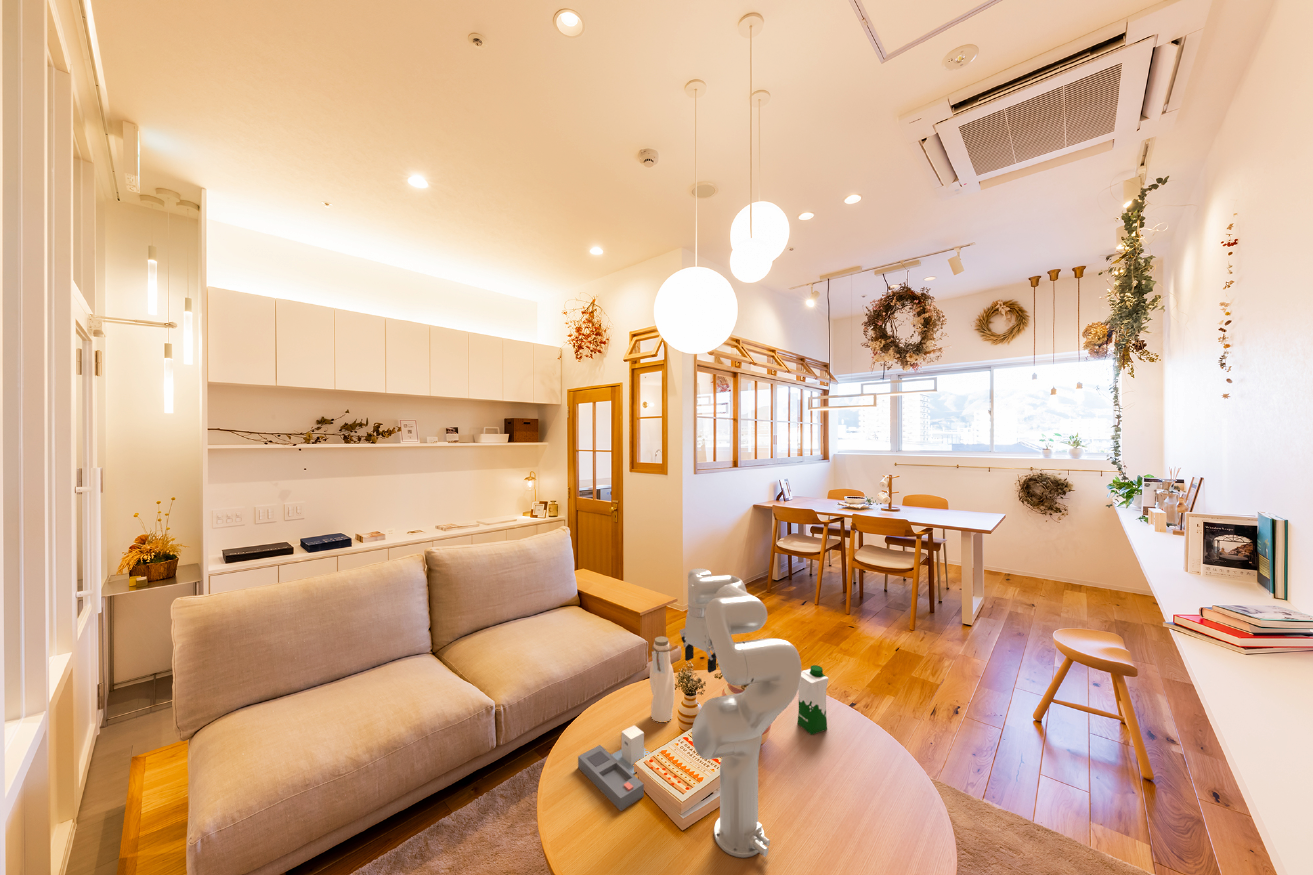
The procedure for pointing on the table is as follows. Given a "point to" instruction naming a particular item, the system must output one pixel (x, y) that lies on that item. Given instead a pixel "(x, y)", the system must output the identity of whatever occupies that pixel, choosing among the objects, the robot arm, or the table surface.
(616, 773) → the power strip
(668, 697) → the water bottle
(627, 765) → the coaster
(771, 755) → the table surface
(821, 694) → the milk carton
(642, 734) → the block
